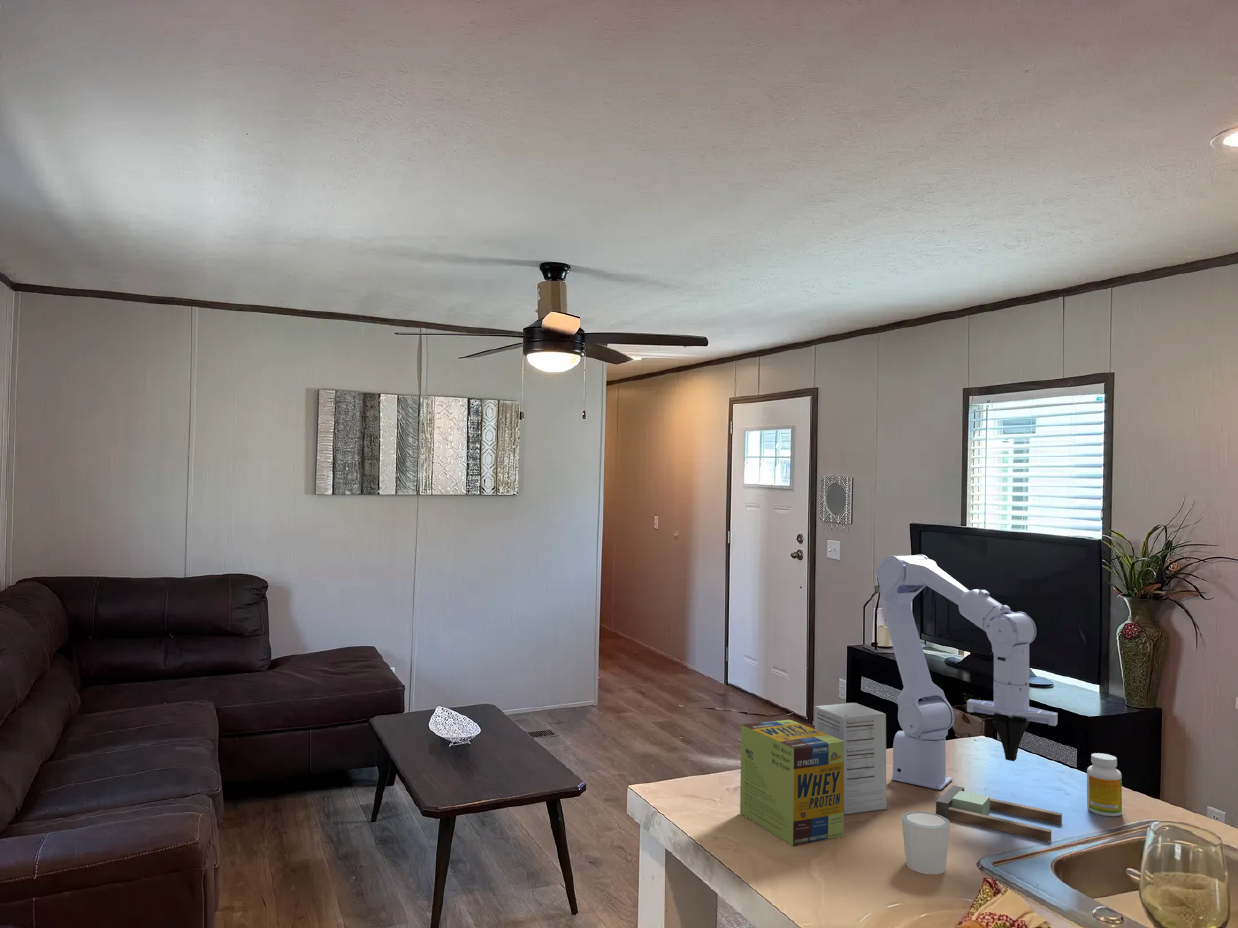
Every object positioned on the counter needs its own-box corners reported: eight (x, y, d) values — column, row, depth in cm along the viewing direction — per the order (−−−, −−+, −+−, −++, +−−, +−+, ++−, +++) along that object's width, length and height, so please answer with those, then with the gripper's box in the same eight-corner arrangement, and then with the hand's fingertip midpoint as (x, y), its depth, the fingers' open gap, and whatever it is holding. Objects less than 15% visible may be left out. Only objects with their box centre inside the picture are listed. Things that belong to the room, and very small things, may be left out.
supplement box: (888, 809, 150) (888, 713, 151) (844, 815, 147) (844, 717, 148) (855, 791, 159) (855, 701, 160) (813, 797, 156) (813, 704, 157)
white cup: (894, 856, 131) (894, 810, 131) (937, 855, 131) (937, 809, 132) (913, 876, 124) (913, 828, 124) (958, 875, 124) (958, 827, 125)
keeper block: (952, 815, 149) (952, 798, 149) (960, 807, 153) (960, 790, 153) (982, 822, 146) (982, 804, 146) (989, 813, 150) (989, 796, 150)
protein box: (793, 847, 134) (793, 747, 134) (738, 813, 148) (739, 723, 148) (845, 836, 138) (846, 740, 139) (788, 805, 152) (788, 717, 153)
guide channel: (935, 815, 148) (935, 800, 148) (953, 798, 156) (953, 785, 156) (1049, 841, 137) (1049, 826, 137) (1061, 822, 145) (1061, 807, 146)
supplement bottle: (1127, 818, 148) (1126, 761, 148) (1093, 815, 149) (1092, 759, 149) (1115, 807, 153) (1115, 752, 154) (1082, 804, 154) (1082, 750, 155)
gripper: (962, 679, 152) (961, 755, 152) (1051, 692, 143) (1051, 773, 143) (973, 672, 158) (972, 746, 157) (1060, 684, 149) (1059, 763, 148)
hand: (1011, 759), depth 150 cm, fingers closed
